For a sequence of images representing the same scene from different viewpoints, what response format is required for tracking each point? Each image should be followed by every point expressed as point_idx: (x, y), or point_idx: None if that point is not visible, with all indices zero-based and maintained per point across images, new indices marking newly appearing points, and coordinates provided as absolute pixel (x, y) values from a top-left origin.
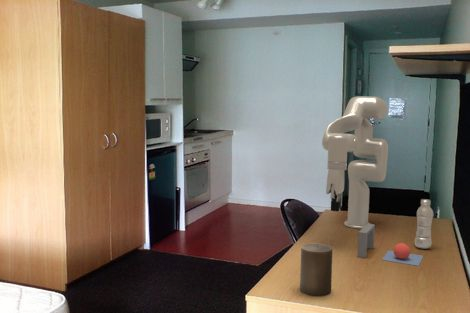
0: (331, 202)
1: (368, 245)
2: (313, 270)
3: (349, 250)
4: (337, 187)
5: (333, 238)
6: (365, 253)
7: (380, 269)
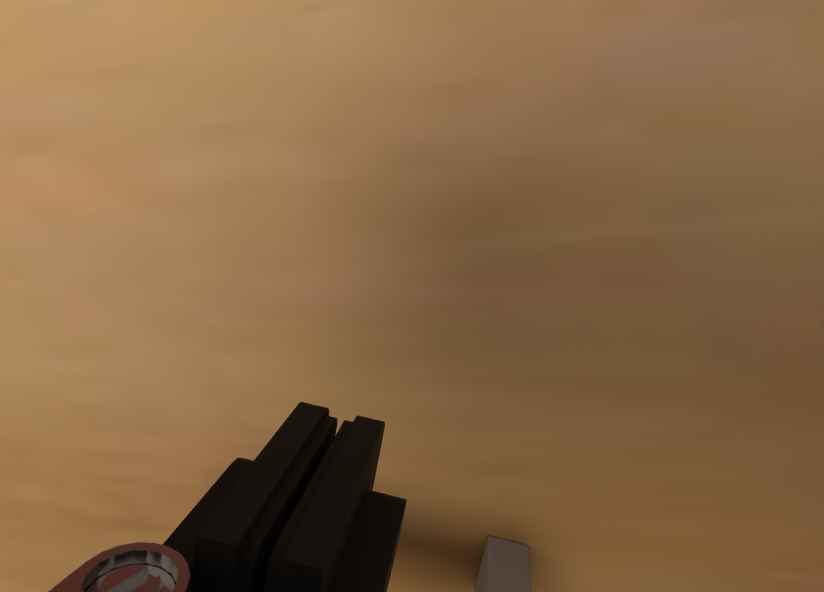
0: (222, 516)
1: (483, 574)
2: None
3: None
4: None
5: (725, 273)
6: None
7: None
